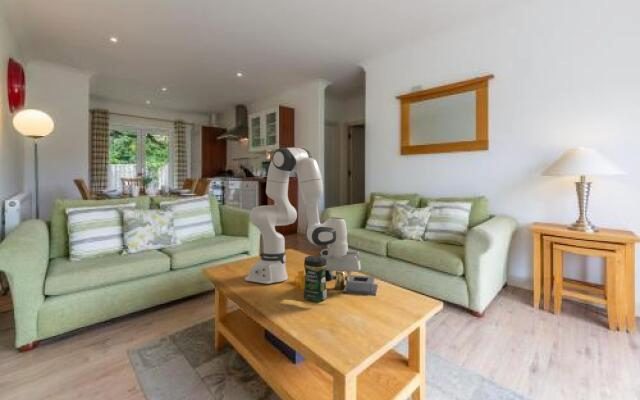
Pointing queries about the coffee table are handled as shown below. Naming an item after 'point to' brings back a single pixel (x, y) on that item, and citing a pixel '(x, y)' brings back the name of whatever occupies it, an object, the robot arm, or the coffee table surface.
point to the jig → (360, 285)
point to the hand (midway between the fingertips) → (340, 279)
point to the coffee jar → (315, 278)
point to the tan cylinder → (339, 280)
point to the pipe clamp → (300, 279)
